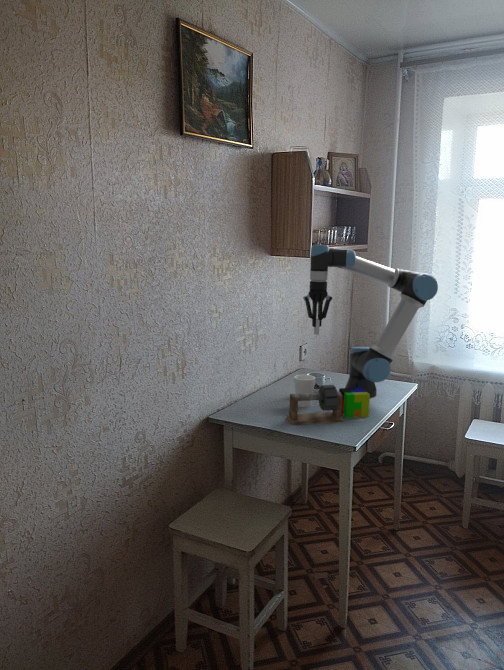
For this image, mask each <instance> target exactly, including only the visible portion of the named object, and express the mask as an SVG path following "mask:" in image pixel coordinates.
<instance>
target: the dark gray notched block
mask: <svg viewBox="0 0 504 670" xmlns="http://www.w3.org/2000/svg"><path fill="white" fill-rule="evenodd" d="M337 392H338V390H337V387H336V386H335V385H334V384H325V385H324V384H323V385H320V386H319V388H318V392H317V393H323V394H324V400H318V404H319V407H320V409H321V411H323V412H324V411H333V410H335V409H336V408H337V405H338V398H337V397H338V393H337Z"/></svg>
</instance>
